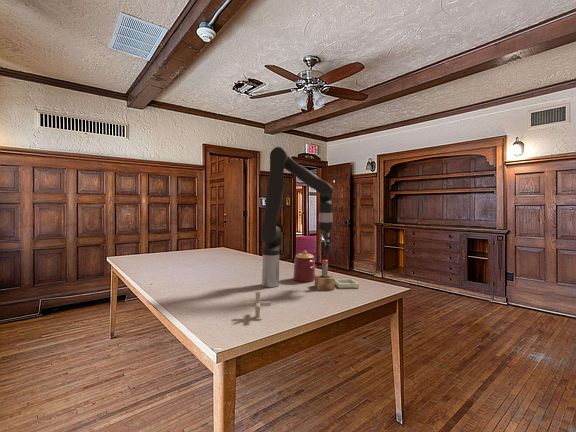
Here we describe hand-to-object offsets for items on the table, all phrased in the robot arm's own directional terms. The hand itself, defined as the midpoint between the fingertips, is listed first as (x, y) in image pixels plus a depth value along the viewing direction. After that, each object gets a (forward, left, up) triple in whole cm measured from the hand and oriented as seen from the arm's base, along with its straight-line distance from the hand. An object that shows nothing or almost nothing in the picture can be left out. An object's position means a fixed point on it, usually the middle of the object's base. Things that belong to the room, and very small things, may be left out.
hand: (325, 251), depth 165 cm
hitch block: (0, 0, -20) cm, 20 cm away
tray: (+13, +3, -20) cm, 24 cm away
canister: (-8, +18, -20) cm, 28 cm away
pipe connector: (-37, -41, -20) cm, 59 cm away
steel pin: (0, 0, -20) cm, 20 cm away
